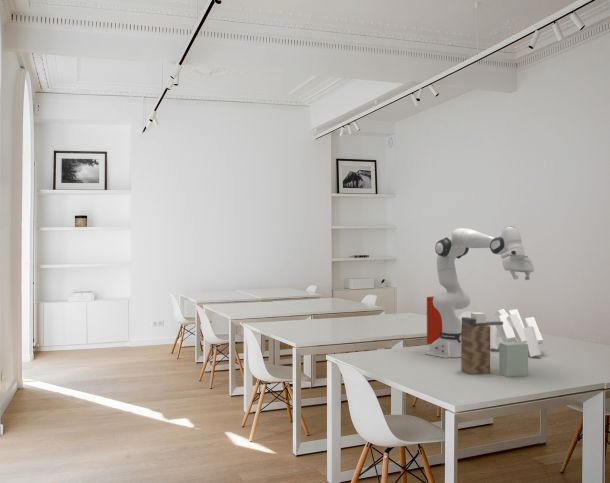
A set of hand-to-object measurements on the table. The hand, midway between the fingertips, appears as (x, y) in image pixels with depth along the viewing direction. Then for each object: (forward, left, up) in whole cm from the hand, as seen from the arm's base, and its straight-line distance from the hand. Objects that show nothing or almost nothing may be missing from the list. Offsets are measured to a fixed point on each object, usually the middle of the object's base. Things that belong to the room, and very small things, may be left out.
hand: (521, 279), depth 306 cm
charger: (-17, -3, -25) cm, 31 cm away
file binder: (-69, +56, -50) cm, 102 cm away
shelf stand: (-22, -8, -50) cm, 55 cm away
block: (-3, -3, -50) cm, 50 cm away
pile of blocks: (-20, +58, -51) cm, 80 cm away
